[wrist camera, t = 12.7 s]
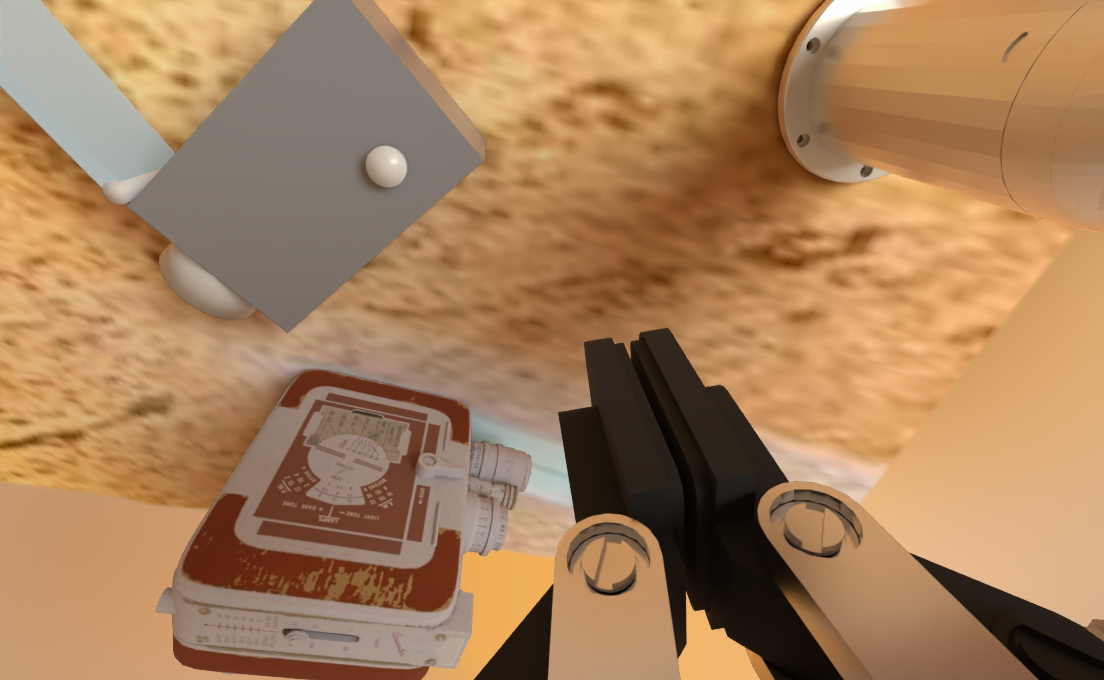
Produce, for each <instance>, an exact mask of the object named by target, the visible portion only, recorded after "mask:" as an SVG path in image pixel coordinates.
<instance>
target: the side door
mask: <svg viewBox="0 0 1104 680" xmlns="http://www.w3.org/2000/svg"><path fill="white" fill-rule="evenodd" d="M0 86H1V87H2V88H3V89H4V90H5V91H6V92H7V93H8V94H9V95H10V96H11V97H12V98H13V99H14V100H15V101H16V102H17V103H18V104H19V105H20V106H21V107H22V108H23V109H24V110H25V111H26V112H27V113H28V114H29V115H30V116H31V117H32V118H33V119H34V120H35V121H36V122H37V123H38V124H39V125H40V126H41V127H42V128H43V129H44V130H45V131H46V132H47V133H48V134H49V135H50V136H51V138H52V139H53V140H54V141H55V142H56V143H57V144H58V145H59V146H60V147H61V148H62V149H63V150H64V151H65V152H66V153H67V154H68V155H69V156H70V157H71V158H72V159H73V160H74V161H75V162H76V163H77V164H78V165H79V166H80V167H81V168H82V169H83V170H84V171H85V172H86V173H87V174H88V175H89V176H90V177H91V178H92V179H93V180H94V181H95V182H96V183H97V184H98V185H99V186H100V187H101V188H102V192H103V194H104V196H105V197H106V199H107V200H109V201H110V202H112V203H114V204H117V205H123V204H126V203H128V202H131V201H132V200H133V199H134V198H135V197H136V196H137V195H138V194H139V193H140V192H141V190H142V189H143V188H144V187H145V186H146V185H147V184H148V183H149V182H150V181H151V179H152V178H153V177H154V176H155V175H156V174H157V173H158V172H159V171H160V170H161V168H162V167H163V166H164V165H165V164H166V163H167V162H168V161H169V160H170V159H171V157H172V156H173V155H174V154H175V152H174V151H173V150H172V149H171V148H170V146H169V145H168V144H167V143H166V142H165V141H164V140H163V138H162V137H161V136H160V135H159V134H158V133H157V132H156V131H155V129H154V128H153V127H152V126H151V125H150V124H149V123H148V122H147V120H146V119H145V118H144V117H143V116H142V115H141V114H140V113H139V111H138V110H137V109H136V108H135V107H134V106H133V105H132V103H131V102H130V101H129V100H128V99H127V98H126V97H125V96H124V94H123V93H122V92H121V91H120V90H119V89H118V88H117V87H116V85H115V84H114V83H113V82H112V81H111V80H110V79H109V77H108V76H107V75H106V74H105V73H104V72H103V71H102V70H101V68H100V67H99V66H98V65H97V64H96V63H95V62H94V61H93V59H92V58H91V57H90V56H89V55H88V54H87V53H86V51H85V50H84V49H83V48H82V47H81V46H80V45H79V44H78V42H77V41H76V40H75V39H74V38H73V37H72V36H71V35H70V33H69V32H68V31H67V30H66V29H65V28H64V27H63V25H62V24H61V23H60V22H59V21H58V20H57V19H56V18H55V16H54V15H53V14H52V13H51V12H50V11H49V10H48V9H47V7H46V6H45V5H44V4H43V3H42V2H41V1H40V0H0Z"/></svg>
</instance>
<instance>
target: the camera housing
mask: <svg viewBox="0 0 1104 680" xmlns="http://www.w3.org/2000/svg"><path fill="white" fill-rule="evenodd" d="M486 145H487V141H486V139H485V138H484V137H483V136H482V134H481V133H480V132H479V131H478V129H477V128H476V127H475V126H474V124H473V123H472V122H471V121H470V120H469V118H468V117H467V116H466V115H465V113H464V112H463V111H462V110H461V108H460V107H459V106H458V105H457V103H456V102H455V101H454V100H453V99H452V97H451V96H450V95H449V94H448V92H447V91H446V90H445V89H444V87H443V86H442V85H441V84H440V82H439V81H438V80H437V79H436V78H435V76H434V75H433V74H432V73H431V71H430V70H429V69H428V68H427V66H426V65H425V64H424V63H423V61H422V60H421V59H420V58H419V56H418V55H417V54H416V53H415V52H414V50H413V49H412V48H411V47H410V45H409V44H408V43H407V42H406V40H405V39H404V38H403V37H402V35H401V34H400V33H399V32H398V31H397V29H396V28H395V27H394V26H393V24H392V23H391V22H390V21H389V19H388V18H387V17H386V16H385V14H384V13H383V12H382V11H381V10H380V8H379V7H378V6H377V5H376V3H375V2H374V1H373V0H314V1H313V2H312V3H311V4H310V5H309V7H308V8H307V9H306V10H305V11H304V12H303V13H302V14H301V15H300V17H299V18H298V19H297V20H296V21H295V22H294V23H293V24H292V25H291V26H290V28H289V29H288V30H287V31H286V32H285V33H284V34H283V35H282V36H281V37H280V39H279V40H278V41H277V42H276V43H275V44H274V45H273V46H272V47H271V48H270V50H269V51H268V52H267V53H266V54H265V55H264V56H263V57H262V58H261V59H260V61H259V62H258V63H257V64H256V65H255V66H254V67H253V68H252V69H251V70H250V72H249V73H248V74H247V75H246V76H245V77H244V78H243V79H242V80H241V81H240V83H239V84H238V85H237V86H236V87H235V88H234V89H233V90H232V91H231V92H230V94H229V95H228V96H227V97H226V98H225V99H224V100H223V101H222V102H221V103H220V105H219V106H218V107H217V108H216V109H215V110H214V111H213V112H212V113H211V115H210V116H209V117H208V118H207V119H206V120H205V121H204V122H203V123H202V124H201V126H200V127H199V128H198V129H197V130H196V131H195V132H194V133H193V134H192V135H191V137H190V138H189V139H188V140H187V141H186V142H185V143H184V144H183V145H182V146H181V148H180V149H179V150H178V151H177V152H176V153H175V154H174V155H173V156H172V157H171V159H170V160H169V161H168V162H167V163H166V164H165V165H164V166H163V167H162V168H161V170H160V171H159V172H158V173H157V174H156V175H155V176H154V177H153V178H152V179H151V181H150V182H149V183H148V184H147V185H146V186H145V187H144V188H143V189H142V190H141V192H140V193H139V194H138V195H137V196H136V197H135V198H134V199H133V200H132V201H131V203H130V204H129V205H128V206H127V207H128V208H129V209H130V210H132V211H133V212H134V213H135V214H137V215H138V216H139V217H140V218H142V219H143V220H144V221H146V222H147V223H148V224H149V225H151V226H152V227H153V228H154V229H156V230H157V231H158V232H160V233H161V234H162V235H163V236H165V237H166V238H167V239H169V240H170V241H171V243H170V244H169V245H168V246H167V247H166V248H165V249H164V251H163V252H162V253H161V255H160V258H159V267H160V271H161V273H162V275H163V277H164V279H165V281H166V282H167V284H168V285H169V286H170V288H171V289H172V290H173V291H174V292H175V293H176V294H177V295H178V296H179V297H180V298H182V299H183V300H184V301H185V302H187V303H188V304H190V305H191V306H193V307H194V308H196V309H198V310H200V311H202V312H204V313H206V314H208V315H211V316H214V317H217V318H221V319H226V320H241V319H244V318H247V317H249V316H250V315H251V314H253V313H254V312H255V311H256V310H257V309H258V310H259V311H260V312H262V313H263V314H264V315H265V316H267V317H268V318H269V319H270V320H272V321H273V322H274V323H276V324H277V325H278V326H279V327H281V328H282V329H283V330H284V331H286V332H287V333H288V332H289V331H291V330H292V329H293V328H294V327H295V326H296V325H297V324H299V323H300V322H301V321H302V320H303V319H304V318H305V317H307V316H308V315H309V314H310V313H311V312H312V311H313V310H315V309H316V308H317V307H318V306H319V305H320V304H321V303H323V302H324V301H325V300H326V299H327V298H328V297H329V296H331V295H332V294H333V293H334V292H335V291H336V290H337V289H338V288H340V287H341V286H342V285H343V284H344V283H345V282H346V281H348V280H349V279H350V278H351V277H352V276H353V275H354V274H356V273H357V272H358V271H359V270H360V269H361V268H362V267H364V266H365V265H366V264H367V263H368V262H369V261H370V260H372V259H373V258H374V257H375V256H376V255H377V254H378V253H380V252H381V251H382V250H383V249H384V248H385V247H386V246H388V245H389V244H390V243H391V242H392V241H393V240H394V239H396V238H397V237H398V236H399V235H400V234H401V233H402V232H404V231H405V230H406V229H407V228H408V227H409V226H410V225H412V224H413V223H414V222H415V221H416V220H417V219H418V218H419V217H421V216H422V215H423V214H424V213H425V212H426V211H427V210H429V209H430V208H431V207H432V206H433V205H434V204H435V203H437V202H438V201H439V200H440V199H441V198H442V197H443V196H445V195H446V194H447V193H448V192H449V191H450V190H451V189H453V188H454V187H455V186H456V185H457V184H458V183H459V182H461V181H462V180H463V179H464V178H465V177H466V176H467V175H469V174H470V173H471V172H472V171H473V170H474V169H475V168H477V167H478V166H479V165H480V164H481V163H482V162H483V161H484V158H485V151H486Z"/></svg>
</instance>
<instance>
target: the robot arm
mask: <svg viewBox="0 0 1104 680" xmlns="http://www.w3.org/2000/svg"><path fill="white" fill-rule="evenodd" d="M808 42H809V47H808V49H806V46H807V43H808ZM778 119H779V124H780V129H781V134H782V137H783V139H784V142H785V144H786V146H787V149H788V150H789V152H790V153H791V154H792V156H793V157H794V158H795V160H796V161H797V162H798V163H799V164H800V165H801V166H803V167H804V168H805V169H806V170H807V171H809V172H811V173H813V174H815V175H817V176H819V177H822V178H825V179H828V180H831V181H834V182H841V183H860V182H867V181H871V180H874V179H877V178H880V177H884V176H886V175H888V174H890V173H892V174H896V175H899V176H902V177H905V178H909V179H912V180H915V181H919V182H922V183H925V184H928V185H932V186H935V187H938V188H942V189H945V190H948V191H951V192H955V193H958V194H961V195H964V196H968V197H971V198H974V199H978V200H981V201H984V202H987V203H991V204H994V205H997V206H1001V207H1004V208H1007V209H1010V210H1014V211H1017V212H1020V213H1024V214H1027V215H1030V216H1033V217H1037V218H1040V219H1045V220H1048V221H1052V222H1055V223H1058V224H1061V225H1065V226H1069V227H1073V228H1077V229H1082V230H1088V231H1097V232H1104V0H826V1H825V2H824V3H823V4H822V5H821V6H820V7H819V8H818V9H817V10H816V12H815V13H814V14H813V15H812V16H811V18H810V19H809V20H808V22H807V23H806V25H805V26H804V28H803V29H802V31H801V32H800V34H799V35H798V37H797V39H796V41H795V43H794V45H793V47H792V49H791V51H790V53H789V55H788V58H787V61H786V64H785V67H784V70H783V73H782V77H781V82H780V88H779V94H778ZM799 136H800V139H799V140H798V137H799ZM797 140H798V142H797ZM584 348H585V356H586V364H587V372H588V380H589V388H590V396H591V404H592V407H587V408H581V409H575V410H569V411H563V412H558V415H559V421H560V427H561V433H562V439H563V446H564V452H565V458H566V464H567V470H568V477H569V483H570V489H571V495H572V501H573V508H574V514H575V520H576V524H575V525H574V526H573V527H572V528H571V529H569V530H568V531H567V532H566V533H565V535H564V537H563V538H562V540H561V541H560V543H559V545H558V549H557V553H556V558H555V571H554V583H553V585H552V586H551V587H550V588H549V590H548V591H547V592H546V593H545V594H544V596H543V597H542V598H541V599H540V601H539V602H538V603H537V604H536V605H535V606H534V608H533V609H532V610H531V611H530V613H529V614H528V615H527V616H526V617H525V619H524V620H523V621H522V622H521V623H520V625H519V626H518V627H517V628H516V629H515V631H514V632H513V633H512V634H511V635H510V637H509V638H508V639H507V640H506V641H505V643H504V644H503V645H502V647H501V648H500V649H499V650H498V651H497V652H496V654H495V655H494V656H493V657H492V659H491V660H490V661H489V662H488V664H486V666H485V667H484V668H483V669H482V670H481V672H480V673H479V674H478V675H477V677H476V678H475V679H474V680H681V679H680V672H679V666H678V658H679V656H680V655H681V653H682V651H683V649H684V647H685V646H686V643H687V642H686V592H687V595H688V598H689V600H690V603H691V606H692V608H693V610H695V611H698V610H705V613H706V616H707V618H708V621H709V624H710V626H711V629H712V630H714V629H720V628H725V631H726V634H727V636H728V637H729V638H731V639H732V640H734V641H736V642H737V643H739V644H741V645H742V646H744V647H746V651H747V654H748V656H749V659H750V661H751V664H752V666H753V668H754V669H755V671H756V673H757V675H758V677H759V678H760V680H1104V620H1100V619H1093V620H1092V621H1091V623H1090V624H1089V626H1088V627H1083V626H1081V625H1079V624H1077V623H1075V622H1073V621H1071V620H1069V619H1067V618H1065V617H1063V616H1061V615H1059V614H1057V613H1055V612H1053V611H1050V610H1048V609H1046V608H1043V607H1040V606H1038V605H1036V604H1033V603H1031V602H1029V601H1026V600H1024V599H1021V598H1019V597H1016V596H1013V595H1011V594H1009V593H1006V592H1004V591H1002V590H999V589H997V588H994V587H992V586H989V585H987V584H984V583H982V582H980V581H977V580H975V579H972V578H970V577H967V576H965V575H963V574H960V573H958V572H955V571H953V570H950V569H948V568H945V567H943V566H941V565H938V564H936V563H933V562H931V561H928V560H926V559H924V558H921V557H919V556H916V555H914V554H911V553H909V552H908V551H907V550H905V548H904V547H902V546H901V545H900V544H899V543H898V542H897V541H896V540H895V539H894V538H893V537H892V536H891V535H890V534H889V533H888V532H887V531H886V530H885V529H884V528H883V527H882V526H881V525H880V524H879V523H878V522H877V521H876V520H875V519H874V518H873V517H872V516H871V515H870V514H869V513H868V512H867V511H865V509H864V508H863V507H862V506H860V505H859V504H858V503H857V502H855V501H854V500H853V499H851V498H850V497H849V496H848V495H846V494H844V493H842V492H840V491H838V490H836V489H834V488H832V487H829V486H825V485H821V484H818V483H814V482H802V481H794V482H789V481H788V480H787V478H786V477H785V475H784V474H783V472H782V471H781V469H780V468H779V466H778V465H777V463H776V462H775V460H774V459H773V457H772V456H771V454H770V453H769V451H768V450H767V448H766V447H765V445H764V444H763V443H762V441H761V440H760V438H759V437H758V435H757V434H756V432H755V431H754V429H753V428H752V426H751V425H750V423H749V422H748V420H747V419H746V417H745V416H744V414H743V413H742V411H741V410H740V408H739V407H738V405H737V404H736V402H735V401H734V400H733V398H732V397H731V395H730V394H729V392H728V391H727V390H726V388H725V387H724V386H721V385H717V386H711V387H705V386H704V385H703V383H702V381H701V380H700V378H699V377H698V375H697V373H696V372H695V370H694V368H693V367H692V365H691V364H690V362H689V360H688V359H687V357H686V355H685V354H684V352H683V351H682V349H681V347H680V346H679V344H678V342H677V341H676V339H675V338H674V336H673V334H672V333H671V331H670V330H669V329H668V328H664V329H658V330H652V331H646V332H640V334H639V340H636V341H631V344H630V349H631V359H630V357H629V355H628V352H627V350H626V348H625V345H624V343H618V344H614V342H613V340H612V338H605V339H599V340H593V341H587V342H584Z"/></svg>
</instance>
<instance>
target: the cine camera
mask: <svg viewBox="0 0 1104 680" xmlns="http://www.w3.org/2000/svg"><path fill="white" fill-rule="evenodd" d="M471 430H472V429H471V413H470V410H469V407H468V406H467V405H465V404H464V403H462V402H460V401H457V400H455V399H451V398H447V397H443V396H439V395H434V394H430V393H425V392H421V391H416V390H412V389H408V388H403V387H399V386H394V385H390V384H386V383H381V382H377V381H372V380H368V379H364V378H359V377H355V376H350V375H346V374H342V373H337V372H332V371H327V370H320V369H309V370H305V371H303V372H302V373H300V374H299V375H297V377H296V378H295V379H294V380H293V381H292V383H291V384H290V385H289V386H288V387H287V389H286V390H285V392H284V393H283V395H282V396H281V398H280V399H279V401H278V402H277V404H276V405H275V407H274V408H273V410H272V411H271V413H270V415H269V416H268V418H267V419H266V421H265V422H264V424H263V426H262V427H261V429H260V430H259V432H258V433H257V435H256V437H255V438H254V440H253V441H252V443H251V444H250V446H249V448H248V449H247V451H246V452H245V454H244V455H243V457H242V459H241V460H240V462H239V463H238V465H237V466H236V468H235V470H234V471H233V473H232V474H231V476H230V477H229V479H228V481H227V482H226V484H225V485H224V487H223V488H222V490H221V491H220V493H219V495H218V496H217V498H216V499H215V501H214V503H213V504H212V506H211V507H210V509H209V510H208V512H207V514H206V515H205V517H204V518H203V520H202V521H201V523H200V525H199V526H198V528H197V529H196V531H195V532H194V534H193V536H192V537H191V539H190V541H189V543H188V545H187V546H186V548H185V550H184V552H183V554H182V557H181V559H180V561H179V564H178V566H177V569H176V570H175V573H174V576H173V588H167V589H165V590H164V592H163V593H162V595H161V597H160V599H159V601H158V604H157V608H156V612H158V613H168V614H172V624H173V652H174V655H175V657H176V659H177V660H178V661H179V662H180V663H181V664H182V665H185V666H188V667H191V668H193V669H199V670H207V671H216V672H222V673H225V674H248V675H259V676H271V677H283V678H294V679H306V680H421V679H422V678H423V677H424V676H425V675H426V673H427V671H428V669H429V667H431V666H432V667H441V668H451V669H455V668H456V667H457V665H458V662H459V660H460V658H461V656H462V654H463V652H464V649H465V647H466V645H467V643H468V641H469V639H470V636H471V633H472V614H473V594H471V593H467V592H464V591H462V590H461V589H459V587H460V580H461V569H462V556H463V554H464V553H466V552H468V551H470V552H478V553H479V555H481V556H487V554H488V553H489V551H490V550H496V551H499V550H500V549H501V547H502V545H503V542H504V539H505V535H506V530H507V524H508V509H509V510H513V509H514V507H515V504H516V500H517V494H518V492H524V490H525V489H526V486H527V484H528V481H529V477H530V472H531V456H530V455H528V454H526V453H525V452H522V451H518V450H515V449H514V448H509V447H504V446H503V445H501V444H496V445H493V444H489V442H486V441H483V442H482V443H479V442H472V443H471Z"/></svg>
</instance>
